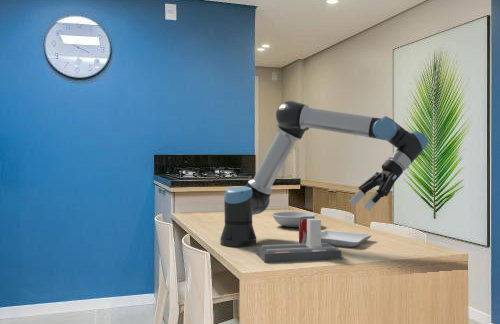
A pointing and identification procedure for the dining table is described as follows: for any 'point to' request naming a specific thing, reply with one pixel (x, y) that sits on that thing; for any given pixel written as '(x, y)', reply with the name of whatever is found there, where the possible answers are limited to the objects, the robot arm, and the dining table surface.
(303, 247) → the switch board
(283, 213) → the soup bowl
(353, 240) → the salad plate
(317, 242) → the tab
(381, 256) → the dining table surface
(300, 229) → the soda can
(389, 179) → the robot arm
